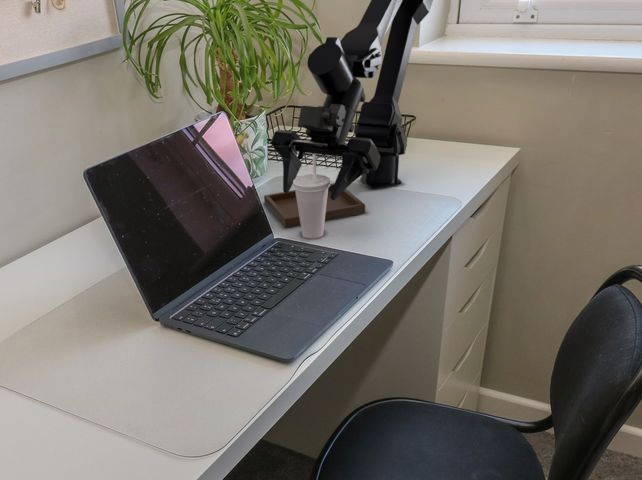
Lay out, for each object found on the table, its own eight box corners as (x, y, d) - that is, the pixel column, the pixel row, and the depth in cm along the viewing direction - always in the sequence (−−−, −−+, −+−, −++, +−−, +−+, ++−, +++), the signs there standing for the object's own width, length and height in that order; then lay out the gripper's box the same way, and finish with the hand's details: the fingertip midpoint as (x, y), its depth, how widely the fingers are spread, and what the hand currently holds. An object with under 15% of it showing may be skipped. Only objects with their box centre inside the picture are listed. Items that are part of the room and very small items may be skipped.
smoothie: (332, 240, 120) (331, 158, 111) (295, 242, 120) (292, 161, 112) (329, 226, 125) (328, 147, 116) (294, 228, 125) (290, 149, 117)
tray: (338, 190, 139) (338, 182, 138) (365, 213, 128) (365, 204, 127) (264, 203, 136) (263, 195, 135) (285, 227, 126) (285, 219, 125)
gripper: (273, 79, 115) (241, 165, 115) (375, 85, 106) (341, 179, 106) (298, 117, 125) (269, 196, 124) (393, 125, 116) (363, 211, 115)
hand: (308, 195), depth 117 cm, fingers open, 9 cm apart
